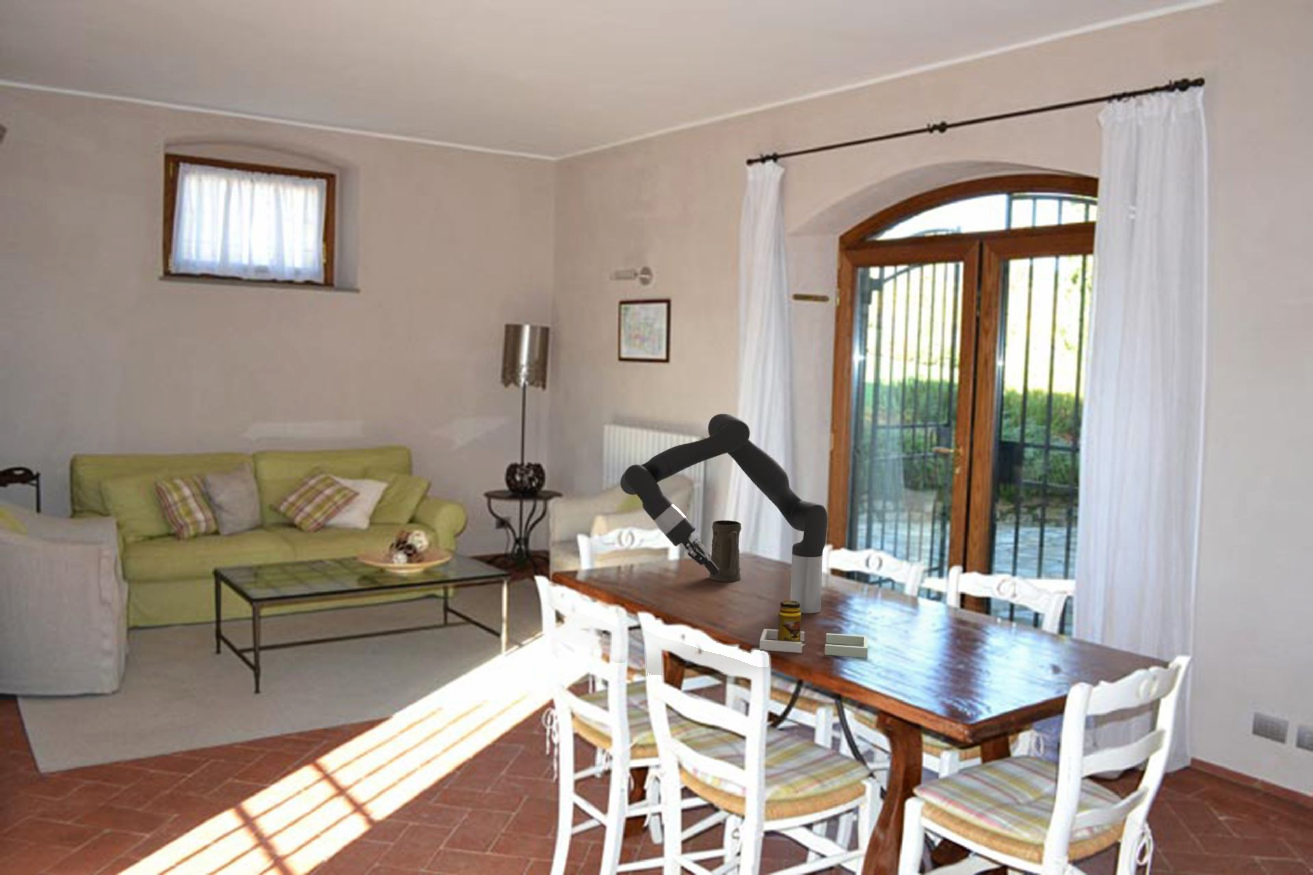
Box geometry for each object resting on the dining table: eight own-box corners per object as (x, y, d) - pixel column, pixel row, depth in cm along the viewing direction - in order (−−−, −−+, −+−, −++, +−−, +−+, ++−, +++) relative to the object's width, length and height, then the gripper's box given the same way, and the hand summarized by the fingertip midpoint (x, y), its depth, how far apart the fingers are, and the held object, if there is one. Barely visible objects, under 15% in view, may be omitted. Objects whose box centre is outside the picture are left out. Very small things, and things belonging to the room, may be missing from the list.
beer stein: (702, 575, 386) (706, 519, 383) (730, 573, 391) (733, 518, 388) (723, 588, 373) (727, 529, 370) (751, 585, 377) (755, 528, 374)
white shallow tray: (826, 642, 303) (826, 633, 303) (867, 645, 301) (867, 636, 301) (824, 654, 291) (825, 645, 291) (867, 657, 289) (867, 648, 289)
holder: (763, 637, 306) (764, 628, 306) (803, 640, 304) (804, 631, 304) (759, 649, 294) (759, 640, 294) (801, 652, 292) (801, 643, 292)
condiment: (795, 651, 294) (796, 606, 293) (765, 646, 298) (767, 602, 297) (805, 645, 300) (807, 601, 299) (776, 640, 304) (778, 596, 303)
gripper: (680, 519, 296) (724, 568, 295) (688, 513, 309) (730, 560, 308) (660, 537, 298) (703, 586, 296) (668, 530, 311) (710, 577, 309)
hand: (716, 573), depth 302 cm, fingers closed
